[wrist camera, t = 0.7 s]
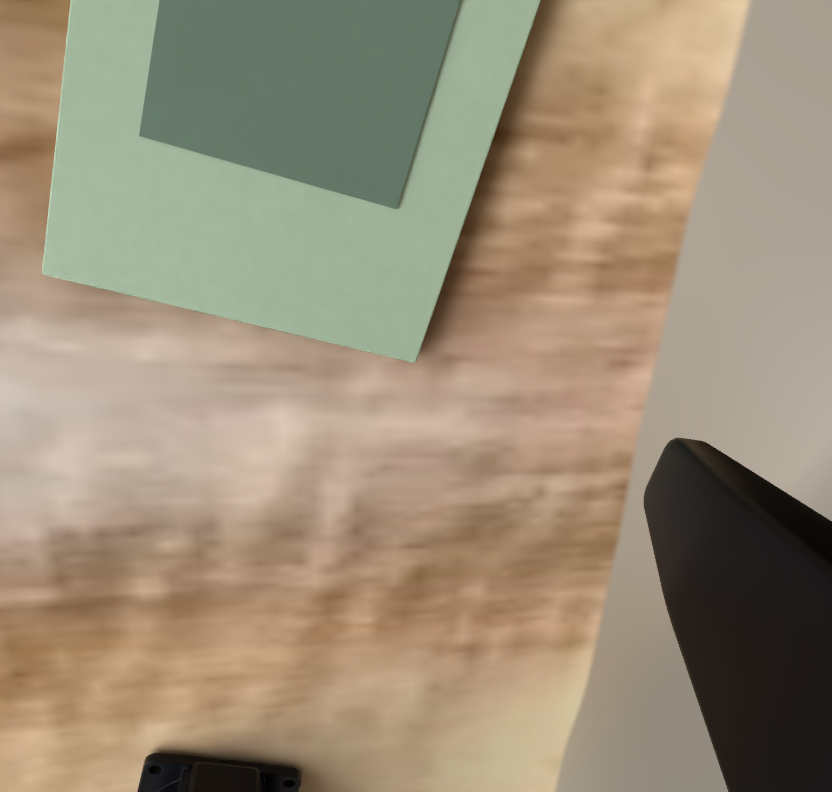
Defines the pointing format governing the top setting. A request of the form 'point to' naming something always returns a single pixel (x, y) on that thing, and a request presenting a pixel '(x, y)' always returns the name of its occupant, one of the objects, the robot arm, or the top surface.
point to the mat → (279, 155)
